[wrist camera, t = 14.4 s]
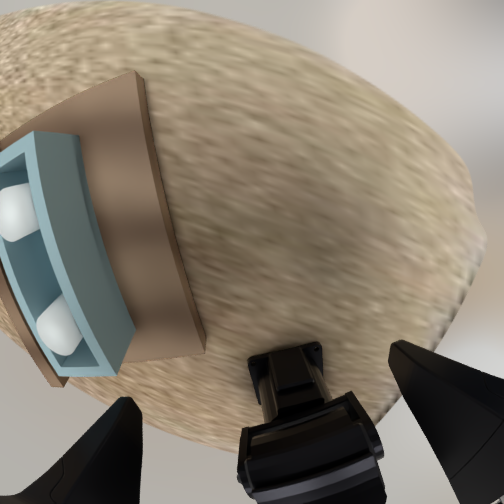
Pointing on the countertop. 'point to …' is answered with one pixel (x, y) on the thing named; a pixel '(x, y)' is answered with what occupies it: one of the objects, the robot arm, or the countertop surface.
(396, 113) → the countertop surface
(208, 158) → the countertop surface
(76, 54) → the countertop surface
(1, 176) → the tray
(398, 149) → the countertop surface
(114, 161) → the walnut shelf
